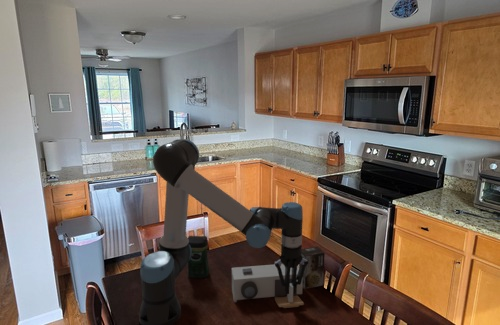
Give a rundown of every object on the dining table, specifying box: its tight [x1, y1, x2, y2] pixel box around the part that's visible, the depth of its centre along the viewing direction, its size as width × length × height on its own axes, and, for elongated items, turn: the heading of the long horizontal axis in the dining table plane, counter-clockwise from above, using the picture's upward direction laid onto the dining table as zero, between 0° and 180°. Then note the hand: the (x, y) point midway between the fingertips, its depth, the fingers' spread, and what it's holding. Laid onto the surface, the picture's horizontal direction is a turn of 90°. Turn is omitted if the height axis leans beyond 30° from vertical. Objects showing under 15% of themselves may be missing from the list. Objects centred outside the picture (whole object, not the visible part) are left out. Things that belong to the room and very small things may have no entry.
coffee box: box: [298, 245, 325, 290], centre depth 142 cm, size 9×6×16 cm
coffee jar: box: [187, 235, 210, 279], centre depth 150 cm, size 10×8×19 cm
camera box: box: [231, 263, 303, 303], centre depth 136 cm, size 28×11×11 cm, turn 99°
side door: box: [274, 294, 305, 309], centre depth 130 cm, size 10×1×8 cm
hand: (290, 300), depth 128 cm, fingers closed
